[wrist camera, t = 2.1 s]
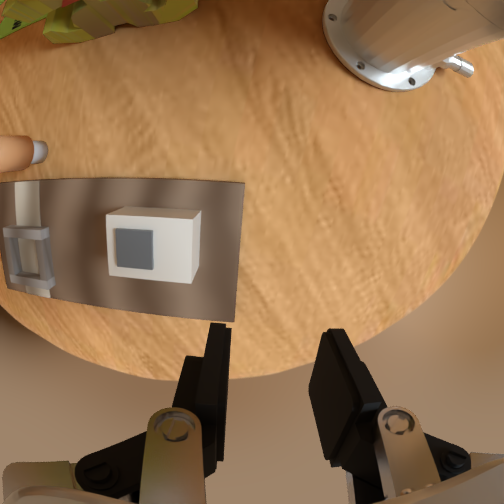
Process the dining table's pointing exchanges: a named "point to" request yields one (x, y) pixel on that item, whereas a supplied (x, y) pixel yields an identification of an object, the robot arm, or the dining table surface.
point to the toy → (95, 15)
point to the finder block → (154, 243)
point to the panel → (95, 243)
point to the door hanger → (14, 24)
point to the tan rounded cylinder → (20, 152)
